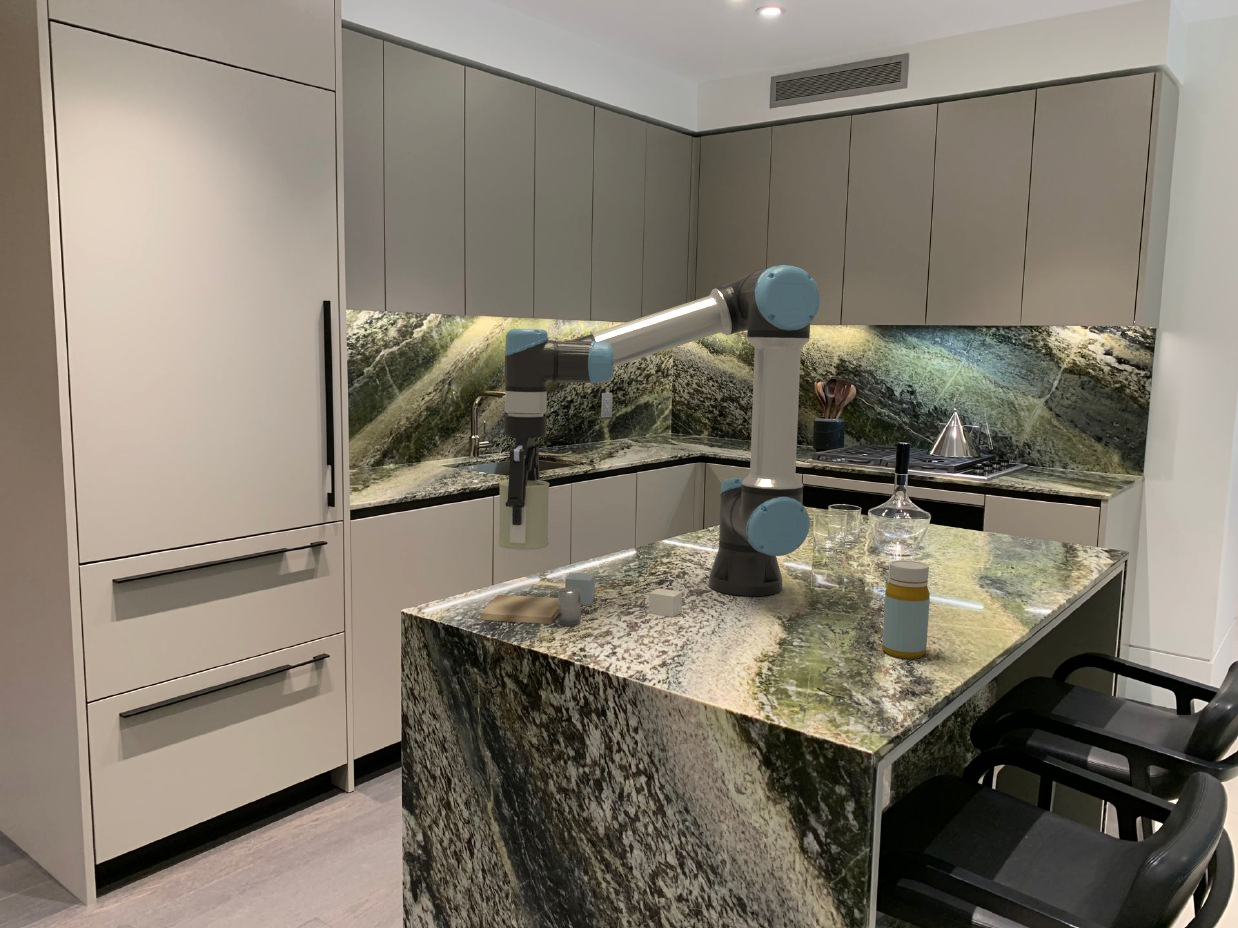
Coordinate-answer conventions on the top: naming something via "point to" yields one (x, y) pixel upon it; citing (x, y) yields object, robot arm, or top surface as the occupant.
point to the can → (534, 516)
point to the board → (521, 609)
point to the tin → (569, 606)
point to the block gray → (582, 586)
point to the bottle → (906, 610)
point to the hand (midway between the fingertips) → (523, 536)
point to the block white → (665, 602)
